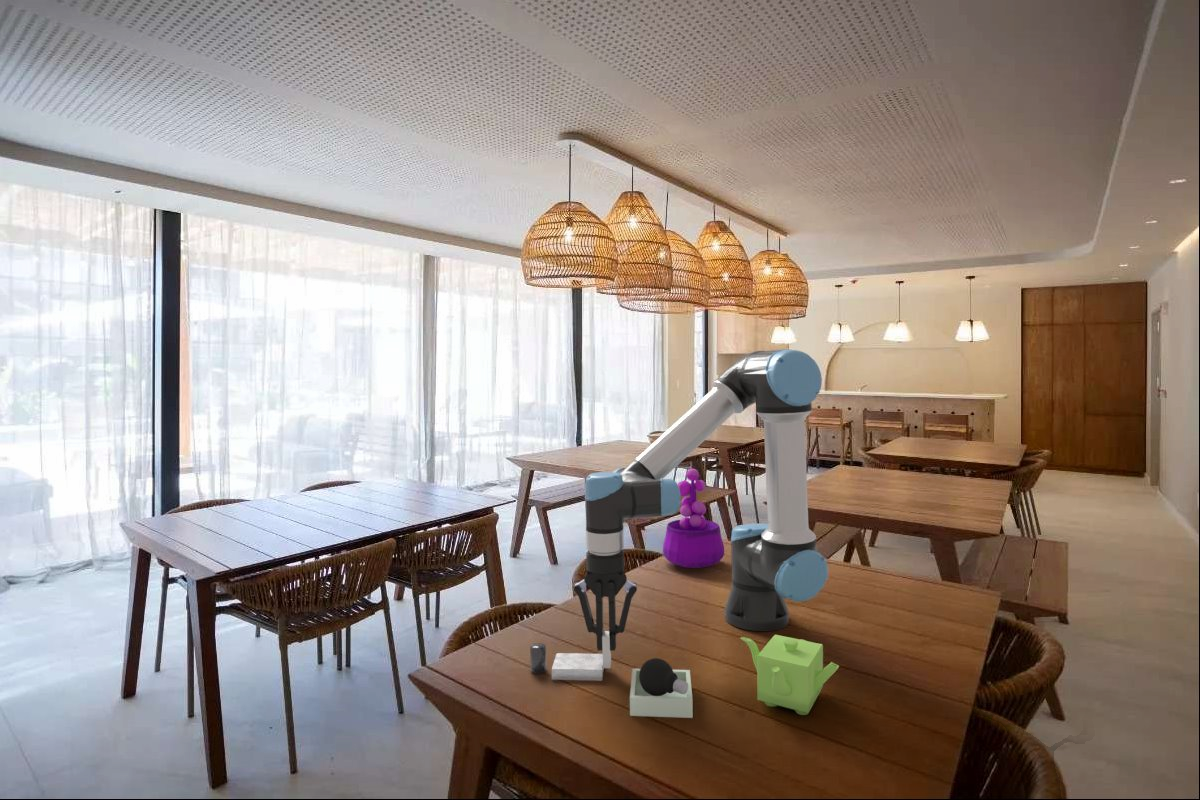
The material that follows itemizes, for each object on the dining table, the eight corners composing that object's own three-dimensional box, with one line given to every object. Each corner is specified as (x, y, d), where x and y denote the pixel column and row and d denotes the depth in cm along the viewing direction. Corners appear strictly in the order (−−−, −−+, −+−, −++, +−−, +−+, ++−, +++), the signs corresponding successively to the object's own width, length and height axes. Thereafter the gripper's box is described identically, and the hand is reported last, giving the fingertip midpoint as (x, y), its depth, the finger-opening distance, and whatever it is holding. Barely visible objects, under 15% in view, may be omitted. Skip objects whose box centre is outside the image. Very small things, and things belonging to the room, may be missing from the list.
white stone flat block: (604, 665, 134) (604, 653, 134) (602, 682, 127) (601, 669, 127) (557, 664, 135) (556, 653, 135) (551, 681, 128) (551, 668, 128)
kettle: (773, 728, 110) (773, 664, 109) (735, 688, 123) (734, 631, 123) (850, 714, 113) (850, 652, 113) (804, 677, 127) (804, 621, 127)
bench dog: (547, 666, 133) (547, 643, 133) (544, 674, 130) (544, 649, 130) (532, 666, 134) (531, 642, 133) (529, 673, 131) (528, 649, 130)
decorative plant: (660, 573, 192) (659, 473, 190) (664, 555, 210) (663, 463, 208) (725, 575, 189) (724, 474, 187) (723, 557, 207) (723, 464, 205)
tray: (689, 686, 124) (689, 670, 124) (692, 717, 113) (692, 699, 113) (632, 685, 125) (632, 668, 125) (630, 715, 114) (629, 697, 114)
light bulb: (681, 672, 112) (635, 654, 119) (675, 710, 111) (629, 690, 118) (700, 669, 117) (655, 652, 124) (694, 706, 116) (649, 687, 123)
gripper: (638, 545, 132) (639, 657, 134) (575, 544, 134) (577, 656, 135) (636, 556, 125) (638, 674, 126) (570, 555, 126) (572, 673, 127)
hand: (606, 665), depth 131 cm, fingers closed
